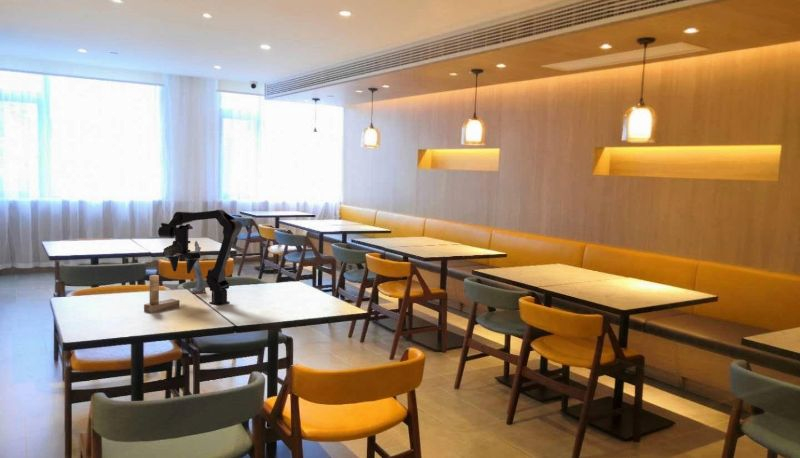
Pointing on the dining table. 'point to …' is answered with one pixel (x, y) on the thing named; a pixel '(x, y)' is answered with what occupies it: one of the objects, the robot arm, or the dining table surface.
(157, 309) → the block
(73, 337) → the dining table surface
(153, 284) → the oak rod
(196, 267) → the antler
